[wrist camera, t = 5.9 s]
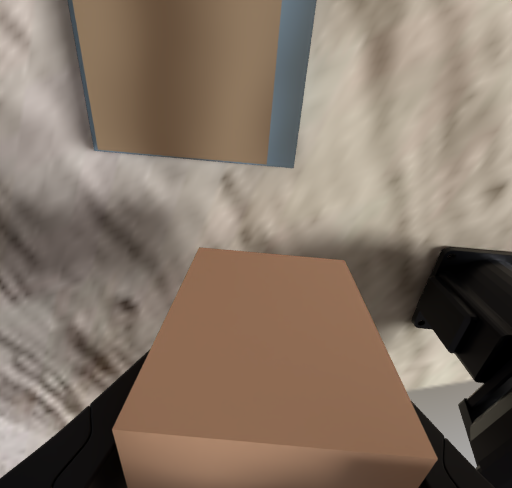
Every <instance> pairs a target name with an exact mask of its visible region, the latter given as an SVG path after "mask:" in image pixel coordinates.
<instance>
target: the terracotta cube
mask: <svg viewBox="0 0 512 488" xmlns="http://www.w3.org/2000/svg"><path fill="white" fill-rule="evenodd" d="M112 431H113V435H114V439H115V442H116V446H117V450H118V454H119V457H120V461H121V465H122V469H123V472H124V476H125V480H126V484H127V487H128V488H418V487H419V486H420V484H421V483H422V482H423V480H424V479H425V477H426V476H427V474H428V473H429V471H430V470H431V468H432V467H433V466H434V464H435V463H436V461H437V460H438V458H437V456H436V454H435V452H434V450H433V447H432V445H431V443H430V441H429V439H428V437H427V435H426V433H425V430H424V428H423V426H422V424H421V422H420V420H419V418H418V416H417V413H416V411H415V409H414V407H413V405H412V403H411V401H410V399H409V396H408V394H407V392H406V390H405V388H404V386H403V384H402V381H401V379H400V377H399V375H398V373H397V371H396V369H395V367H394V364H393V362H392V360H391V358H390V356H389V354H388V352H387V350H386V347H385V345H384V343H383V341H382V339H381V337H380V335H379V333H378V330H377V328H376V326H375V324H374V322H373V320H372V318H371V315H370V313H369V311H368V309H367V307H366V305H365V303H364V301H363V298H362V296H361V294H360V292H359V290H358V288H357V286H356V284H355V281H354V279H353V277H352V275H351V273H350V271H349V269H348V266H347V264H346V262H345V260H335V259H324V258H312V257H301V256H290V255H278V254H267V253H255V252H244V251H233V250H221V249H210V248H199V249H198V251H197V253H196V255H195V257H194V260H193V262H192V264H191V266H190V268H189V270H188V272H187V274H186V276H185V278H184V280H183V283H182V285H181V287H180V289H179V291H178V293H177V295H176V297H175V299H174V301H173V303H172V306H171V308H170V310H169V312H168V314H167V316H166V318H165V320H164V322H163V324H162V326H161V329H160V331H159V333H158V335H157V337H156V339H155V341H154V343H153V345H152V347H151V349H150V351H149V354H148V356H147V358H146V360H145V362H144V364H143V366H142V368H141V370H140V372H139V374H138V377H137V379H136V381H135V383H134V385H133V387H132V389H131V391H130V393H129V395H128V397H127V400H126V402H125V404H124V406H123V408H122V410H121V412H120V414H119V416H118V418H117V420H116V423H115V425H114V427H113V429H112Z"/></svg>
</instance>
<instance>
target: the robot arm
mask: <svg viewBox="0 0 512 488" xmlns="http://www.w3.org/2000/svg"><path fill="white" fill-rule="evenodd" d="M450 254H452V255H451V256H450V257H448V255H450ZM421 320H422V321H421ZM419 321H420V322H419ZM412 322H413V324H414V325H415V326H416V327H417V328H424V329H433V330H434V332H435V333H436V335H437V336H438V337H439V339H440V340H441V342H442V343H443V344H444V346H445V347H446V349H447V350H448V351H449V352H450V353H455V354H456V356H457V357H458V359H459V360H460V361H461V363H462V364H463V365H464V367H465V368H466V370H467V371H468V372H469V374H470V375H471V376H472V378H473V379H474V380H475V382H480V383H484V384H483V385H482V386H481V387H480V388H478V390H476V391H475V392H474V393H473V394H472V395H471V396H470V397H469V398H468V399H464V400H463V401H462V402H460V403H459V405H458V406H459V409H460V412H461V415H462V419H463V422H464V425H465V428H466V431H467V435H468V438H469V441H470V445H471V448H472V451H473V454H474V458H475V461H476V464H477V467H476V469H475V468H474V467H473V466H472V465H471V464H470V463H469V462H468V460H466V458H465V457H464V456H463V455H462V454H461V453H460V452H459V451H458V450H457V449H456V448H455V447H454V446H453V445H452V444H451V443H450V442H449V440H448V439H446V438H444V435H443V434H442V433H441V432H440V431H439V430H438V429H437V428H436V427H435V426H434V425H433V424H432V422H431V421H430V420H429V419H428V418H427V417H426V416H425V415H424V414H423V413H422V412H421V411H420V410H419V409H418V408H417V407H416V405H415V404H414V403H413V402H412V401H411V400H410V401H411V403H412V405H413V407H414V409H415V411H416V413H417V416H418V418H419V420H420V422H421V424H422V426H423V428H424V430H425V433H426V435H427V437H428V439H429V441H430V443H431V445H432V447H433V450H434V452H435V454H436V456H437V458H438V460H437V461H436V463H435V464H434V466H433V467H432V468H431V470H430V471H429V473H428V474H427V476H426V477H425V479H424V480H423V482H422V483H421V484H420V486H419V487H418V488H512V253H509V252H497V251H486V250H475V249H464V248H453V247H449V248H445V249H444V250H442V251H441V253H440V255H439V257H438V260H437V262H436V264H435V267H434V269H433V271H432V274H431V276H430V278H429V279H428V281H427V284H426V286H425V288H424V291H423V293H422V295H421V298H420V300H419V302H418V305H417V308H416V311H415V313H414V315H413V318H412ZM149 351H150V350H149ZM149 351H148V352H147V353H146V354H145V355H144V356H142V357H141V358H140V359H139V360H138V361H137V362H136V363H135V364H134V365H133V366H131V367H130V368H129V369H128V370H127V371H126V372H125V373H124V374H123V375H122V376H120V377H119V378H118V379H117V380H116V381H115V382H114V383H113V384H112V385H111V386H109V387H108V388H107V389H106V390H105V391H104V392H103V393H102V394H101V395H100V396H99V397H97V398H96V399H95V400H94V401H93V402H92V403H91V404H90V406H87V407H86V408H85V409H84V410H83V411H82V412H81V413H80V414H79V415H77V416H76V417H75V418H74V419H73V420H72V421H71V422H70V423H68V424H67V425H66V426H65V427H64V428H63V429H62V430H60V431H59V432H58V433H57V434H56V435H54V436H53V437H52V438H51V439H50V440H48V441H47V442H46V443H45V444H43V445H42V446H41V447H40V448H38V449H37V450H36V451H35V452H33V453H32V454H31V455H30V456H28V457H27V458H26V459H25V460H23V461H22V462H21V463H19V464H18V465H17V466H16V467H14V468H13V469H12V470H10V471H9V472H8V473H7V474H5V475H4V476H3V477H2V478H0V488H128V487H127V484H126V480H125V476H124V472H123V469H122V465H121V461H120V457H119V454H118V450H117V446H116V442H115V439H114V435H113V431H112V429H113V427H114V425H115V423H116V420H117V418H118V416H119V414H120V412H121V410H122V408H123V406H124V404H125V402H126V400H127V397H128V395H129V393H130V391H131V389H132V387H133V385H134V383H135V381H136V379H137V377H138V374H139V372H140V370H141V368H142V366H143V364H144V362H145V360H146V358H147V356H148V354H149Z"/></svg>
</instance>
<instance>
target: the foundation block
mask: <svg viewBox="0 0 512 488" xmlns="http://www.w3.org/2000/svg"><path fill="white" fill-rule="evenodd" d="M68 5H69V11H70V16H71V22H72V27H73V33H74V39H75V44H76V50H77V56H78V61H79V67H80V72H81V78H82V84H83V89H84V95H85V101H86V106H87V112H88V118H89V123H90V129H91V134H92V140H93V146H94V151H104V152H115V153H126V154H138V155H149V156H160V157H172V158H183V159H195V160H206V161H217V162H229V163H240V164H251V165H263V166H274V167H285V168H294V161H295V154H296V147H297V139H298V132H299V125H300V118H301V110H302V103H303V96H304V88H305V81H306V74H307V66H308V59H309V52H310V44H311V37H312V30H313V22H314V15H315V8H316V0H68Z"/></svg>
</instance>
